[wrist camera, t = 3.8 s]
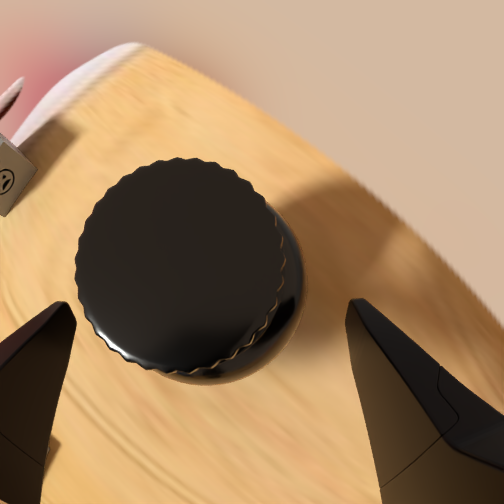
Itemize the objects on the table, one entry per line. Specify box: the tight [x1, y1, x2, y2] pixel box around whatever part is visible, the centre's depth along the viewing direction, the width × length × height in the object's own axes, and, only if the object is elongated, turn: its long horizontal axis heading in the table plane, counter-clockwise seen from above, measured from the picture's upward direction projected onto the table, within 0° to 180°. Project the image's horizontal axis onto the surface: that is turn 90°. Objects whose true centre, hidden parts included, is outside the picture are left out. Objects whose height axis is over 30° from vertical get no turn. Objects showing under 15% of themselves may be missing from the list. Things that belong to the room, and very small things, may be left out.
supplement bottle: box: [75, 157, 307, 386], centre depth 12 cm, size 7×7×12 cm
